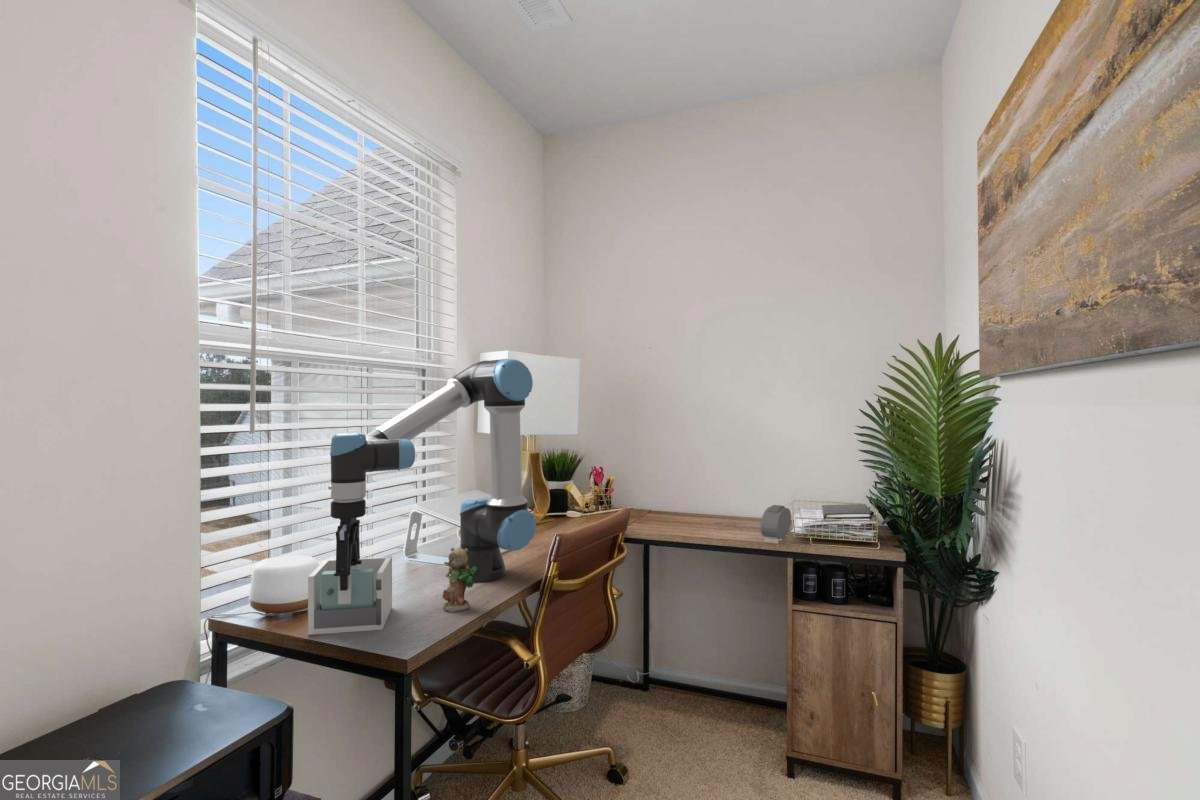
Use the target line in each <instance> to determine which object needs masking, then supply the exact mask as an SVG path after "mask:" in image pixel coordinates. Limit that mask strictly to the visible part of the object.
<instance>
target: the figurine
mask: <svg viewBox="0 0 1200 800" xmlns="http://www.w3.org/2000/svg"><path fill="white" fill-rule="evenodd" d="M450 551H451V552H450V553H449V555H448V557H447V558H448V561H445V562H443V564H444V565H446V566H448V572H447V573H446V574H445V577H446V578H447V579H448V582H449V585H448V587H447V589H443V592H442V599H443V600H444V601H447V602H446V603H444V605H443V606H442V609H443V610H444V611H445V612H451V613H454V612H461V611H465V610H467V609H469V607H470V605H471V604H470V603H469V601H468V600H467V599H465V592H466V589H467V588H469V589H471V588H473V586H474V584H475V582H473V578H472V576H473V575H474V574H475V573H477V570H478V568H477V567H472V568H471V569H469V567H468V564H467V560H468V556H467V551H468V549H466V548H465V550H463V549H462V548H461V547H457V548H454V547H452V548H450ZM468 569H469V570H468Z"/></svg>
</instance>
